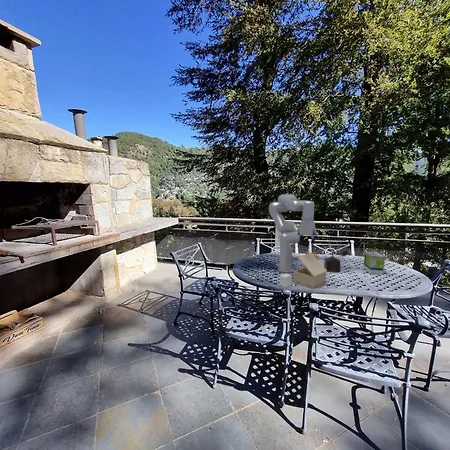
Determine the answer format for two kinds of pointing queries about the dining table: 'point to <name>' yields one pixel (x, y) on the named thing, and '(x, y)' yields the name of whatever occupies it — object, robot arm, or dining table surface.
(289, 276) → the weight block
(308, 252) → the ammunition clip
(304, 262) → the box lid
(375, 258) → the tea box
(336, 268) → the manual coffee grinder
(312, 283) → the cardboard box
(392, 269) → the dining table surface
